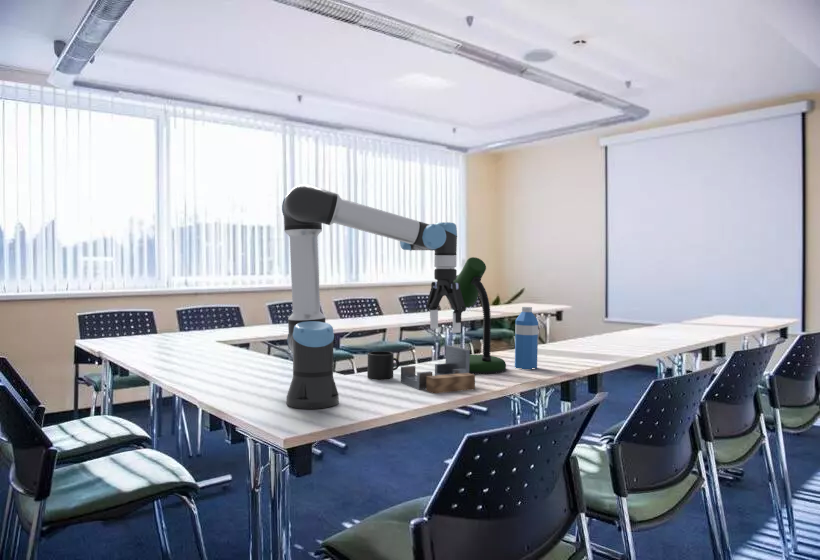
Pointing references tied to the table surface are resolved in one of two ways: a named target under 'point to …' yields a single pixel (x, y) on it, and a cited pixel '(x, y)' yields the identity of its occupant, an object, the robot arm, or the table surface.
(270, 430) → the table surface
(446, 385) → the brown wooden bar
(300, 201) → the robot arm
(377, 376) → the mug
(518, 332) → the water bottle
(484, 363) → the desk lamp
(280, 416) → the table surface
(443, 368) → the cup bracket
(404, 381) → the saddle bracket
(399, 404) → the table surface
